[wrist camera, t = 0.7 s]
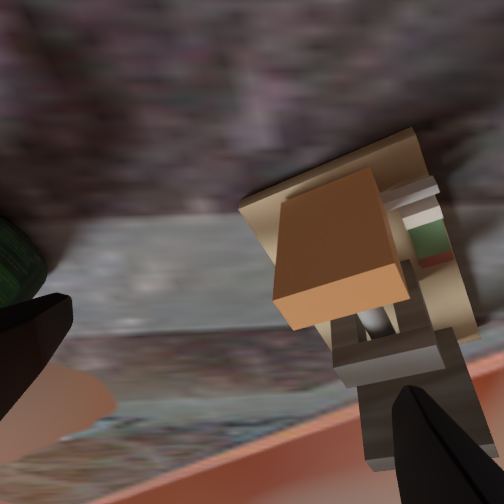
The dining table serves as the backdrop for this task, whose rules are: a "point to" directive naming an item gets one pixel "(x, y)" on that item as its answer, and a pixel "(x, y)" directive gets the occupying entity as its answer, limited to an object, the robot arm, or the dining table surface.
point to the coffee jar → (18, 266)
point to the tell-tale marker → (421, 212)
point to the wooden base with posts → (394, 304)
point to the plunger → (342, 253)
